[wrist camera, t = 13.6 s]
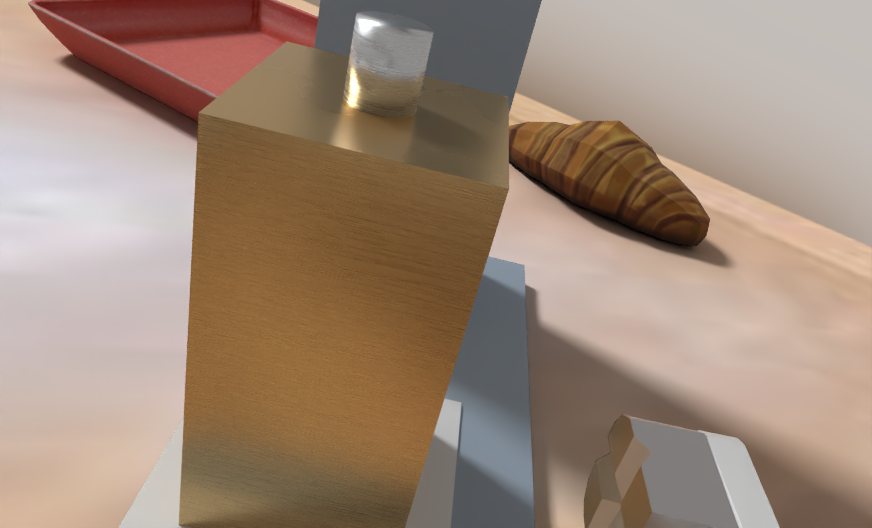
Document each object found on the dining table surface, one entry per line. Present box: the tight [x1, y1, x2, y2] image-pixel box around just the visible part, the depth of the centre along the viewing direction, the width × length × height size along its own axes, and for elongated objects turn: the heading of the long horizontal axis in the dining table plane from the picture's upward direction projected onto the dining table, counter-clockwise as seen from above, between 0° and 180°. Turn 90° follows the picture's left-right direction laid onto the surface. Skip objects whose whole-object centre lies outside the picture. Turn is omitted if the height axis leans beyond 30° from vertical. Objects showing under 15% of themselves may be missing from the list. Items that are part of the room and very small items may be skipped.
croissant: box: [509, 121, 710, 247], centre depth 39 cm, size 14×7×5 cm, turn 51°
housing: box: [179, 11, 509, 528], centre depth 15 cm, size 5×5×12 cm
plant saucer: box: [28, 0, 318, 122], centre depth 44 cm, size 18×18×3 cm
